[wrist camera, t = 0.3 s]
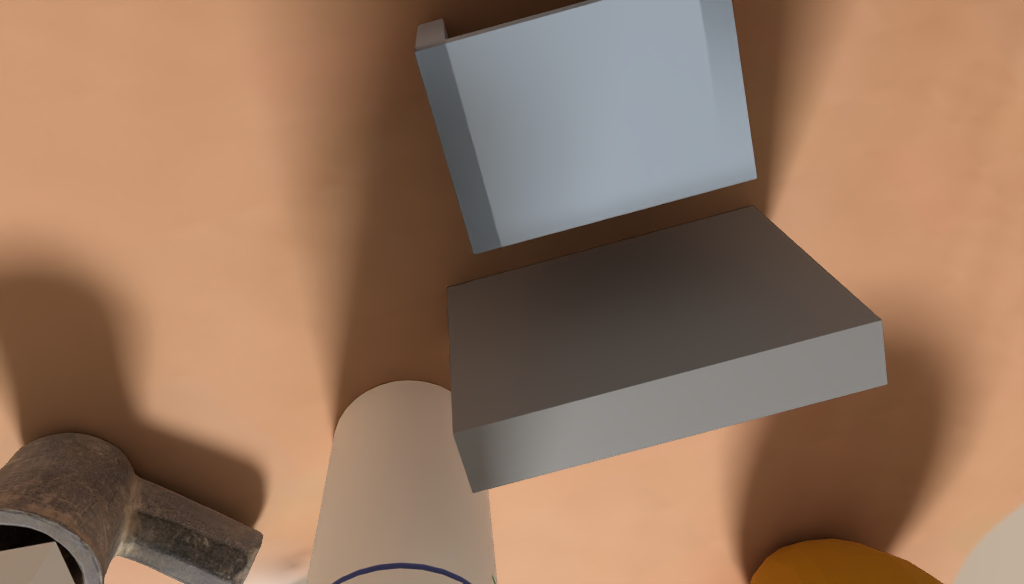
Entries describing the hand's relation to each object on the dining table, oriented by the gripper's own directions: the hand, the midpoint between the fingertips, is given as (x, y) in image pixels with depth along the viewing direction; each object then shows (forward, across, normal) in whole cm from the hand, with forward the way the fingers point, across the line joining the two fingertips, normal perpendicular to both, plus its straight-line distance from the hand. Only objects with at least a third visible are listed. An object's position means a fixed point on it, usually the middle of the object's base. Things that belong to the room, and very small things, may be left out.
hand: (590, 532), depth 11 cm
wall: (+27, +4, -8) cm, 28 cm away
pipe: (+27, -19, -15) cm, 36 cm away
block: (+27, +3, +1) cm, 27 cm away
